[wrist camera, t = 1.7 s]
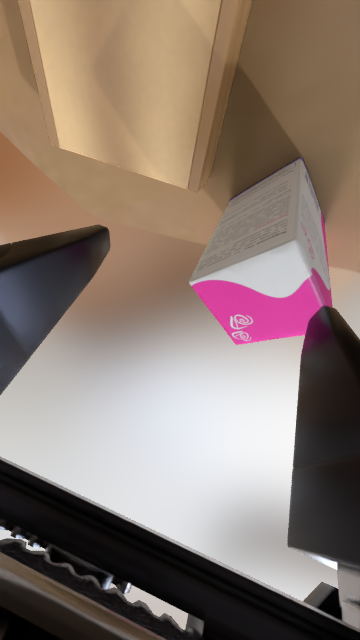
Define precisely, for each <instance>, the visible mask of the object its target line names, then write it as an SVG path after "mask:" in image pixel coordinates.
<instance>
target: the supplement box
mask: <svg viewBox="0 0 360 640" xmlns="http://www.w3.org/2000/svg"><path fill="white" fill-rule="evenodd" d="M189 283H190V285H191V286H192V288H194V290H195V292H196V293H197V294H198V295H199V297H200V298H201V299H202V301H203V302H204V303H205V305H206V306H207V307H208V308H209V310H210V311H211V313H213V315H214V316H215V318H216V319H217V320H218V322H219V323H220V324H221V325H222V327H223V328H224V330H225V331H226V332H227V334H228V335H229V336H230V337H231V339H232V340H233V341H234V343H235V344H237V345H238V344H247V343H253V342H259V341H265V340H271V339H278V338H285V337H293V336H301V335H306V330H307V325H308V322H309V320H310V318H311V317H312V316H313V315H314V314H315V313H316V312H317V311H318V310H319V309H320V308H321V307H322V306H325V305H327V306H329V307H332V298H331V288H330V278H329V268H328V258H327V246H326V236H325V224H324V219H323V216H322V212H321V209H320V206H319V203H318V200H317V197H316V194H315V191H314V188H313V185H312V182H311V179H310V176H309V173H308V171H307V168H306V165H305V163H304V160H303V157H302V156H301V157H299V158H298V159H296V160H294V161H292V162H291V163H289V164H287V165H286V166H284V167H283V168H281V169H279V170H278V171H276V172H274V173H273V174H271V175H269V176H268V177H266V178H264V179H263V180H261V181H259V182H258V183H256V184H254V185H253V186H251V187H249V188H248V189H246V190H244V191H243V192H241V193H239V194H238V195H236V196H234V197H233V198H231V199H230V201H229V203H228V205H227V207H226V209H225V211H224V213H223V215H222V217H221V219H220V221H219V223H218V225H217V227H216V229H215V231H214V233H213V235H212V237H211V239H210V241H209V243H208V245H207V247H206V249H205V251H204V253H203V255H202V257H201V259H200V261H199V263H198V265H197V266H196V269H195V271H194V272H193V275H192V277H191V278H190V280H189Z"/></svg>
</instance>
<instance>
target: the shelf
mask: <svg viewBox="0 0 360 640" xmlns="http://www.w3.org/2000/svg"><path fill="white" fill-rule="evenodd" d="M18 4H19V8H20V13H21V17H22V22H23V26H24V31H25V35H26V39H27V44H28V48H29V53H30V57H31V61H32V66H33V70H34V75H35V79H36V83H37V88H38V92H39V97H40V101H41V106H42V110H43V114H44V119H45V123H46V128H47V132H48V136H49V141H50V144H51V145H53V146H56V147H60V148H62V149H65V150H68V151H72V152H75V153H78V154H81V155H84V156H87V157H90V158H93V159H96V160H99V161H102V162H105V163H108V164H111V165H114V166H117V167H120V168H124V169H127V170H130V171H133V172H136V173H139V174H142V175H145V176H148V177H151V178H154V179H157V180H160V181H163V182H166V183H169V184H172V185H176V186H179V187H182V188H185V189H188V190H191V191H194V192H199V190H200V189H201V188H202V187H203V185H204V184H205V183H206V181H207V180H208V179H209V178H210V175H211V170H212V166H213V162H214V158H215V154H216V150H217V145H218V141H219V137H220V133H221V129H222V125H223V120H224V116H225V112H226V108H227V104H228V100H229V95H230V91H231V87H232V83H233V79H234V75H235V70H236V66H237V62H238V58H239V54H240V49H241V45H242V41H243V37H244V33H245V29H246V24H247V20H248V16H249V12H250V8H251V4H252V0H18Z"/></svg>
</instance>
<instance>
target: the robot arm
mask: <svg viewBox="0 0 360 640" xmlns="http://www.w3.org/2000/svg"><path fill="white" fill-rule="evenodd" d="M109 250H110V236H109V230H108V228H107V227H104V226H101V225H94V226H89V227H85V228H80V229H76V230H70V231H66V232H61V233H57V234H52V235H47V236H42V237H38V238H33V239H28V240H23V241H19V242H14V243H12V244H11V243H9V244H4V245H0V395H1V394H2V392H3V391H4V390H5V388H6V387H7V386H8V385H9V384H10V382H11V381H12V380H13V378H14V377H15V376H16V375H17V373H18V372H19V371H20V369H21V368H22V367H23V366H24V365H25V363H26V362H27V361H28V359H29V358H30V356H31V355H32V354H33V353H34V352H35V350H36V349H37V348H38V346H39V345H40V344H41V343H42V341H43V340H44V339H45V338H46V336H47V335H48V334H49V333H50V331H51V330H52V329H53V327H54V326H55V325H56V324H57V322H58V321H59V320H60V319H61V317H62V316H63V315H64V313H65V312H66V311H67V310H68V308H69V307H70V306H71V304H72V303H73V302H74V301H75V299H76V298H77V297H78V296H79V294H80V293H81V292H82V291H83V289H84V288H85V287H86V286H87V284H88V283H89V282H90V280H91V279H92V278H93V276H94V275H95V273H96V272H97V270H98V268H99V267H100V265H101V263H102V262H103V260H104V258H105V257H106V255H107V253H108V252H109ZM294 448H295V449H294V460H293V472H292V487H291V499H290V514H289V528H288V547H289V548H291V549H294V550H296V551H298V552H300V553H302V554H304V555H306V556H309V557H311V558H313V559H315V560H317V561H320V562H322V563H324V564H326V565H328V566H330V567H333V568H335V569H337V573H338V588H339V589H337V588H335V587H333V586H330V585H328V584H326V583H323V582H321V583H320V584H319V585H318V586H317V587H316V588H315V590H313V591H312V593H311V594H310V595H309V596H308V597H307V598H306V599H305V600H304V601H303V602H302V601H300V600H298V599H295V598H294V597H292V596H290V595H288V594H285V593H283V592H281V591H279V590H277V589H275V588H273V587H271V586H269V585H267V584H265V583H263V582H260V581H258V580H256V579H254V578H252V577H250V576H248V575H246V574H244V573H242V572H240V571H238V570H235V569H233V568H231V567H229V566H227V565H225V564H223V563H221V562H219V561H216V560H215V559H213V558H210V557H208V556H206V555H204V554H202V553H200V552H198V551H196V550H194V549H192V548H190V547H188V546H185V545H183V544H181V543H179V542H177V541H175V540H173V539H171V538H169V537H167V536H165V535H163V534H160V533H158V532H156V531H154V530H152V529H150V528H148V527H146V526H144V525H142V524H140V523H137V522H135V521H133V520H131V519H129V518H127V517H125V516H123V515H121V514H119V513H117V512H114V511H113V510H110V509H108V508H106V507H104V506H102V505H100V504H98V503H96V502H94V501H92V500H90V499H87V498H85V497H83V496H81V495H79V494H77V493H75V492H73V491H71V490H69V489H67V488H64V487H63V486H60V485H58V484H56V483H54V482H52V481H50V480H48V479H46V478H44V477H42V476H40V475H38V474H35V473H33V472H31V471H29V470H27V469H25V468H23V467H21V466H19V465H17V464H15V463H12V462H10V461H8V460H6V459H4V458H2V457H0V529H2V530H9V531H11V532H12V533H11V536H12V537H14V538H25V539H27V540H28V545H30V546H32V547H42V548H44V549H45V552H44V551H30V550H28V549H26V542H24V541H23V540H21V539H3V540H0V640H360V339H359V338H358V337H357V335H356V334H355V333H354V332H353V330H352V329H351V328H350V326H349V325H348V324H347V323H346V321H345V320H344V319H343V317H342V316H341V315H340V314H339V312H338V311H337V310H336V309H335V308H332V307H329V306H327V305H325V306H322V307H321V308H320V309H319V310H318V311H317V312H316V313H315V314H314V315H313V316H312V317H311V318H310V320H309V322H308V325H307V330H306V335H305V339H304V344H303V349H302V354H301V365H300V379H299V391H298V406H297V419H296V433H295V446H294ZM111 583H113V584H114V585H116V587H117V589H116V588H111V589H109V586H110V584H111ZM132 585H133V586H135V587H137V588H139V589H141V590H143V591H145V592H147V593H149V594H151V595H153V596H155V597H157V598H159V599H161V600H163V601H165V602H167V603H169V604H171V605H173V606H175V607H177V608H178V609H180V610H182V611H184V612H186V613H188V619H187V624H186V629H185V630H183V629H181V628H180V627H179V626H178V624H177V623H176V622H175V621H174V620H173V618H172V617H171V616H169V615H167V614H165V613H164V614H163V615H162V616H161V617H158V616H156V615H154V614H153V613H152V611H151V610H150V609H149V607H148V606H147V605H146V604H145V603H144V602H142V601H140V600H138V601H137V602H134V603H131V602H129V601H127V600H126V598H125V597H124V595H123V594H126V593H129V592H130V589H131V586H132Z"/></svg>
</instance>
